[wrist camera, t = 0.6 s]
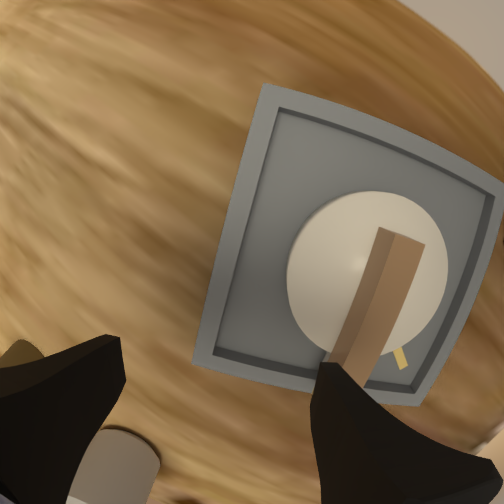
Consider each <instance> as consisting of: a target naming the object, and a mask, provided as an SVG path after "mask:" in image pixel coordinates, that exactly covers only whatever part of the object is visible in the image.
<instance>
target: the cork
mask: <svg viewBox="0 0 504 504" xmlns="http://www.w3.org/2000/svg"><path fill="white" fill-rule="evenodd" d="M42 358H44V356H43V355H42V354H41V352H40V351H39V350H38V349H37V348H36V347H35V346H33V345H32V344H31V343H29V342H27V341H25V340H18V341H16V342H15V343H14V344H13V345H12V346H11V347H10V348H9V349H8V350H7V351H6V352H5V353H4V354H3V356H2V357H1V358H0V368H4V367H11V366H16V365H20V364H25V363H29V362H32V361H36V360H39V359H42Z"/></svg>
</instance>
